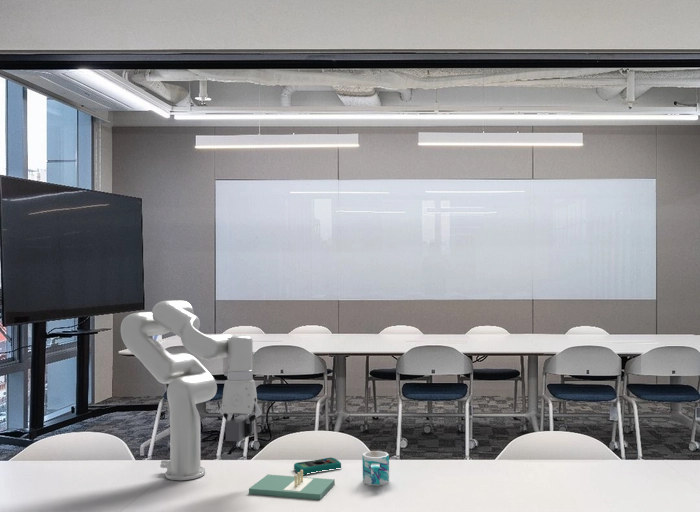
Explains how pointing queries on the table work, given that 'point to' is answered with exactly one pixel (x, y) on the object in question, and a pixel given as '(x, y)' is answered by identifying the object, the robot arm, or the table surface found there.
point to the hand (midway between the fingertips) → (240, 434)
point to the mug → (375, 467)
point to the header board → (292, 486)
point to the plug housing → (236, 429)
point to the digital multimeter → (317, 465)
